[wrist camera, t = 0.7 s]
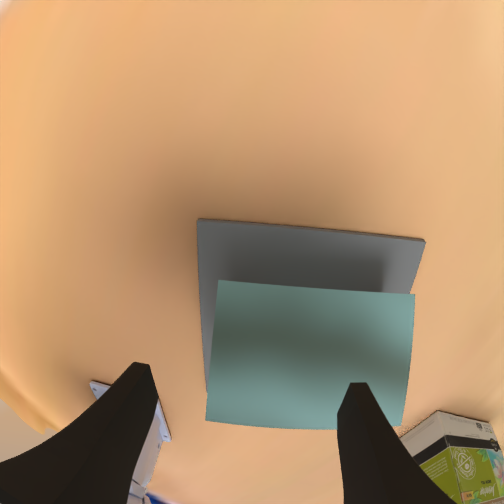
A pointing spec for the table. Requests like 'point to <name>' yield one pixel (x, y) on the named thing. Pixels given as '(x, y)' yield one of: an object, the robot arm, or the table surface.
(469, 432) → the tea box
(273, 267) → the floor mat
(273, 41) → the table surface
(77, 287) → the table surface
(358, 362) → the footstool
